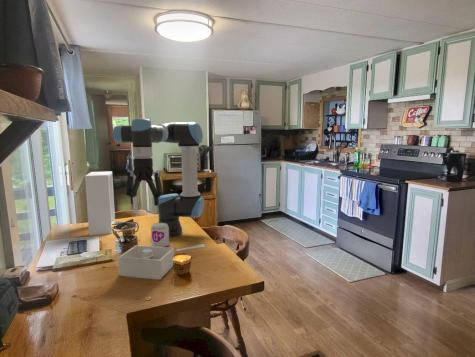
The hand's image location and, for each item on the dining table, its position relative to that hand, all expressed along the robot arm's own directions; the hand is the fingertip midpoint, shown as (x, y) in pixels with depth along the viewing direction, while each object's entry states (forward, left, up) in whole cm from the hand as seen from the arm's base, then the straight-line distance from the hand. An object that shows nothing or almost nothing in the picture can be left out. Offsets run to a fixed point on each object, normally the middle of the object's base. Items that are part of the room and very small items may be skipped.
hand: (145, 212), depth 125 cm
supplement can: (-17, -2, -25) cm, 31 cm away
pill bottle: (0, 0, -25) cm, 25 cm away
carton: (0, 0, -25) cm, 25 cm away
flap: (+10, 0, -15) cm, 18 cm away
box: (-50, -56, -25) cm, 79 cm away
